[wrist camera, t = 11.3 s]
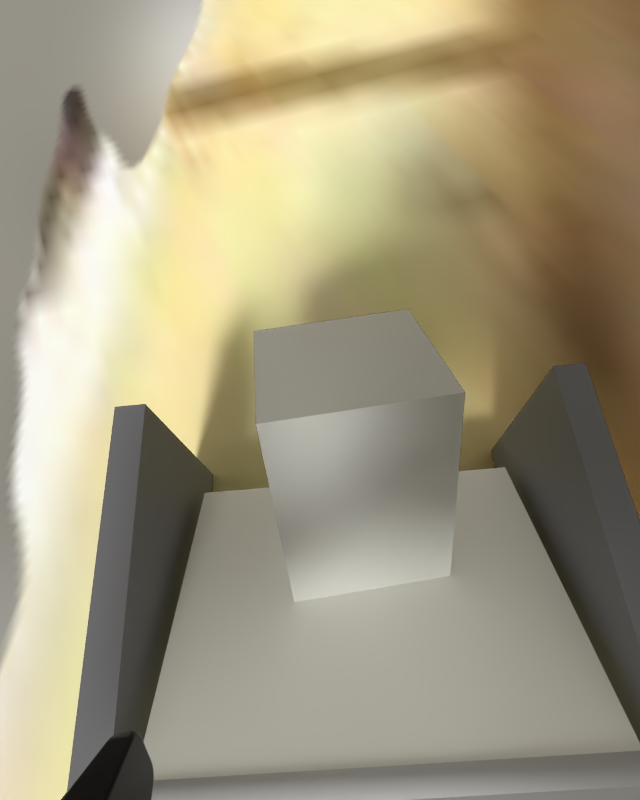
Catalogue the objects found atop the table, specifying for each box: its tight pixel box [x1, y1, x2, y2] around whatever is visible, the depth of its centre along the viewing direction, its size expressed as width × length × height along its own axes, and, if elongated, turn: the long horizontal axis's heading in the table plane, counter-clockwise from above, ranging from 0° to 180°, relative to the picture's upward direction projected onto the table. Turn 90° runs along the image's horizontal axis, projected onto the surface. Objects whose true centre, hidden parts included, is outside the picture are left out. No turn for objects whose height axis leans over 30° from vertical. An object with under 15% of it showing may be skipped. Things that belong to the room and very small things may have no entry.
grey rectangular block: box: [254, 309, 465, 602], centre depth 16 cm, size 5×5×7 cm
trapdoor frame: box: [67, 363, 640, 791], centre depth 16 cm, size 16×15×8 cm
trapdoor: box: [144, 467, 640, 800], centre depth 14 cm, size 16×12×3 cm
